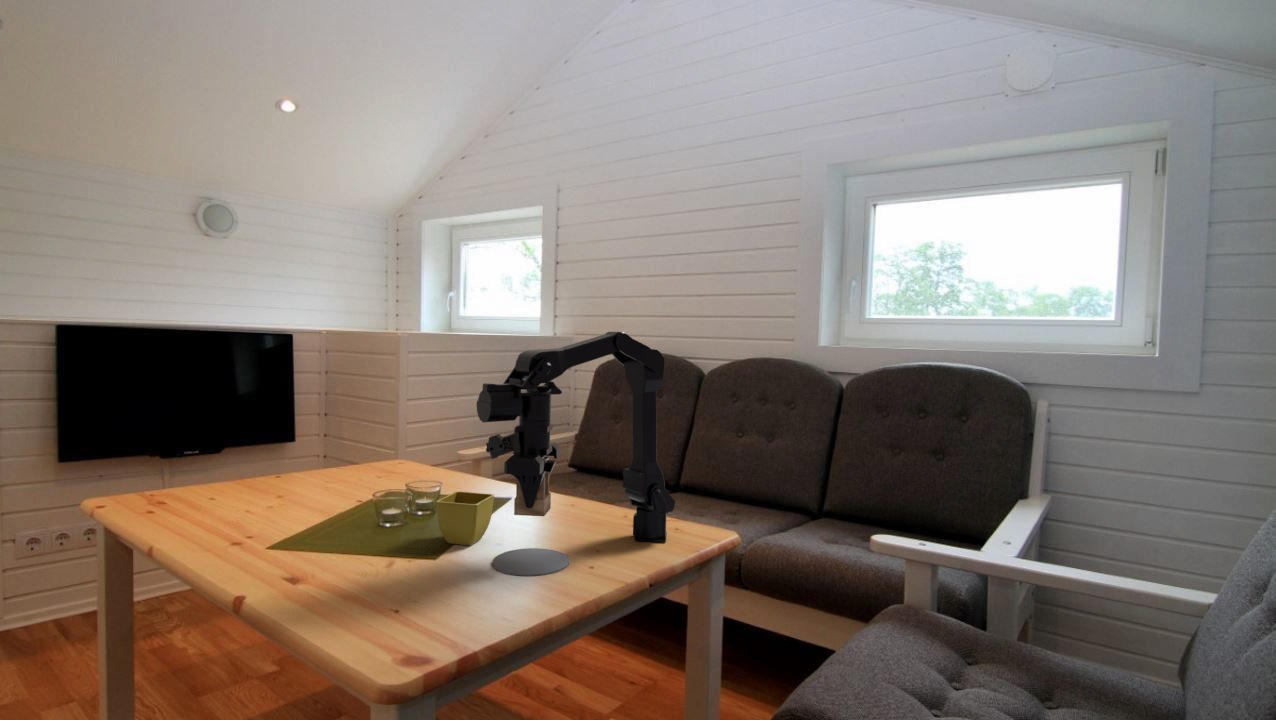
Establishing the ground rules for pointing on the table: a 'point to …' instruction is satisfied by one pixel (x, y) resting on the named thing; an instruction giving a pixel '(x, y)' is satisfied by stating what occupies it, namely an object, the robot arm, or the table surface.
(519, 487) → the stool
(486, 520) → the flower pot
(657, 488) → the robot arm
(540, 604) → the table surface
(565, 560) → the mat
